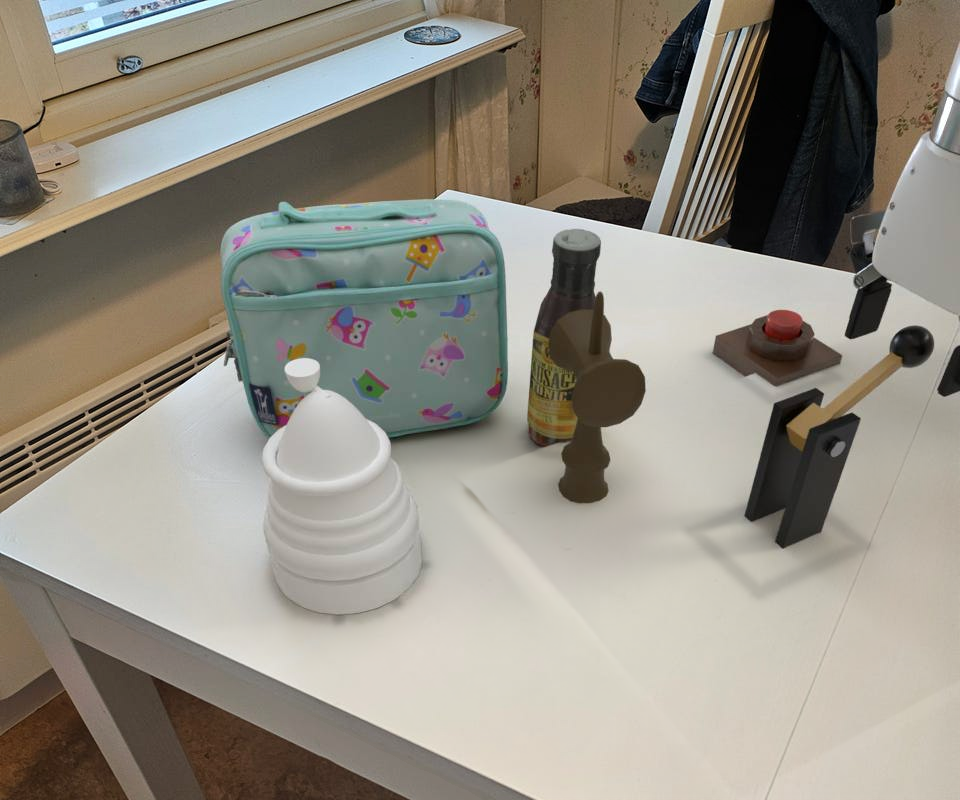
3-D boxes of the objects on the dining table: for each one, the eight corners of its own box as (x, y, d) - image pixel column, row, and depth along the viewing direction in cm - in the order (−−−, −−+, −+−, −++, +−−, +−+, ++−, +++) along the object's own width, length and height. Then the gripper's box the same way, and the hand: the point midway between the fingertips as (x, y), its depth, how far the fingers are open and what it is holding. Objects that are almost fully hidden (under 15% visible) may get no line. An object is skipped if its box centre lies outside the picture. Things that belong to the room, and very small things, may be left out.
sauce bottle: (514, 440, 90) (518, 241, 75) (547, 410, 93) (557, 214, 78) (571, 462, 87) (586, 261, 72) (603, 430, 91) (624, 232, 76)
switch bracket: (795, 485, 84) (833, 363, 75) (866, 541, 79) (916, 416, 69) (693, 527, 80) (719, 404, 71) (760, 589, 75) (798, 464, 66)
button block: (774, 332, 103) (782, 299, 100) (837, 373, 97) (847, 339, 94) (712, 353, 100) (718, 320, 97) (772, 397, 94) (781, 362, 91)
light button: (782, 321, 98) (786, 306, 96) (805, 336, 95) (810, 320, 94) (756, 330, 96) (760, 314, 95) (779, 345, 94) (783, 329, 93)
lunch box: (246, 467, 87) (190, 248, 71) (242, 408, 94) (191, 196, 78) (513, 431, 91) (516, 214, 75) (491, 377, 98) (490, 167, 82)
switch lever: (912, 338, 73) (911, 310, 70) (944, 356, 71) (943, 328, 68) (786, 443, 74) (780, 419, 71) (814, 463, 72) (808, 439, 69)
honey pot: (245, 559, 78) (193, 376, 65) (361, 495, 84) (336, 315, 71) (332, 638, 72) (295, 453, 59) (452, 563, 78) (443, 378, 64)
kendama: (564, 535, 80) (579, 327, 65) (538, 471, 86) (546, 267, 71) (629, 526, 81) (658, 318, 66) (598, 462, 87) (618, 259, 72)
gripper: (1152, 158, 55) (1028, 401, 68) (932, 80, 65) (860, 304, 78) (1071, 182, 53) (958, 429, 65) (855, 98, 63) (794, 325, 76)
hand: (905, 361), depth 72 cm, fingers open, 9 cm apart
